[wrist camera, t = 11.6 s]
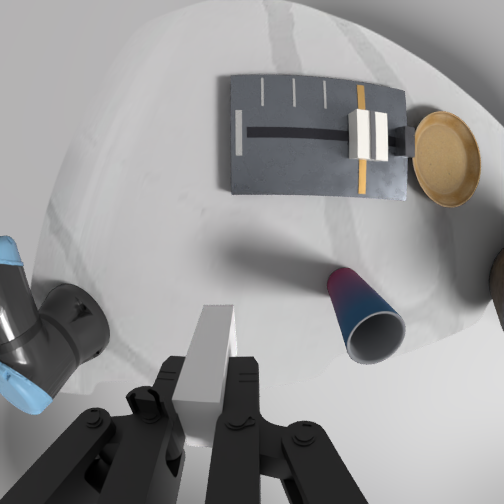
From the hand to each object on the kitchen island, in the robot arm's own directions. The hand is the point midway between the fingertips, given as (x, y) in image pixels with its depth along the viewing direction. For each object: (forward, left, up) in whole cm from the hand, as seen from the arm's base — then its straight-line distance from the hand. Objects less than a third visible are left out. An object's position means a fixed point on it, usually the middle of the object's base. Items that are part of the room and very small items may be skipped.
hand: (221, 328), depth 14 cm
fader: (+15, +13, -23) cm, 30 cm away
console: (+10, +13, -25) cm, 30 cm away
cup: (+14, -8, -26) cm, 30 cm away
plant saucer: (+30, +12, -26) cm, 41 cm away
